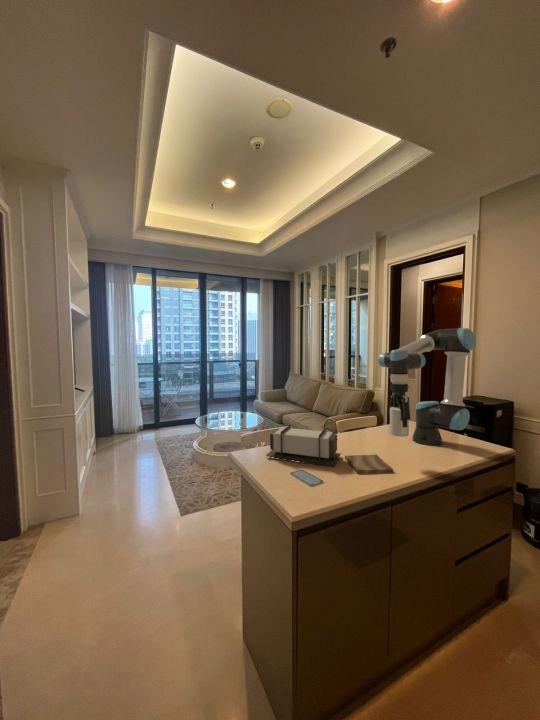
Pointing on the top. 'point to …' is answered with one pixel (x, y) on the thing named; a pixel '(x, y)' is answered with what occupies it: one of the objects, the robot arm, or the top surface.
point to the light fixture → (304, 446)
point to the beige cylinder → (396, 422)
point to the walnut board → (368, 464)
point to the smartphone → (306, 478)
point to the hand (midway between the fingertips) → (399, 431)
